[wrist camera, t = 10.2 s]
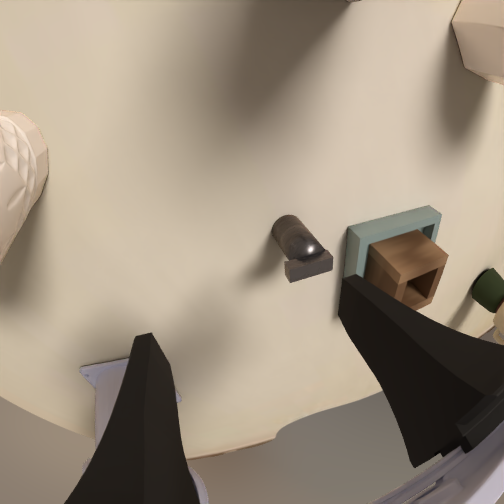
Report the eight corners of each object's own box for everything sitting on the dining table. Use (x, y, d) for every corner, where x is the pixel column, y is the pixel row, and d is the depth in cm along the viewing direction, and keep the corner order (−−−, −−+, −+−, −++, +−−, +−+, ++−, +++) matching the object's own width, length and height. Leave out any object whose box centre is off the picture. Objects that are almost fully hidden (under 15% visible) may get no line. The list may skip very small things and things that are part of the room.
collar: (417, 228, 24) (448, 255, 21) (405, 276, 28) (430, 303, 24) (369, 243, 23) (400, 274, 20) (361, 293, 27) (385, 324, 23)
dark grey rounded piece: (301, 237, 22) (331, 277, 18) (265, 247, 21) (290, 290, 17) (300, 211, 20) (333, 248, 17) (262, 220, 20) (288, 261, 16)
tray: (410, 280, 30) (420, 290, 28) (339, 309, 28) (347, 321, 27) (429, 205, 24) (441, 214, 22) (348, 226, 22) (360, 238, 21)
